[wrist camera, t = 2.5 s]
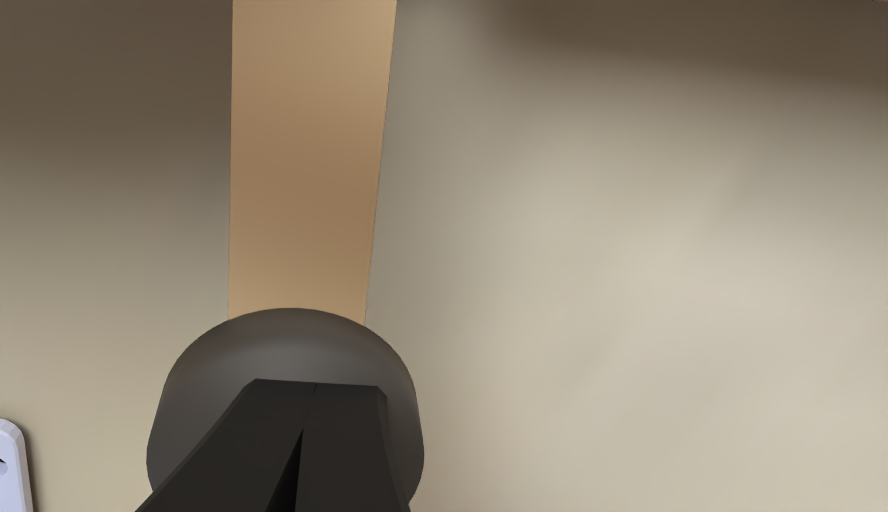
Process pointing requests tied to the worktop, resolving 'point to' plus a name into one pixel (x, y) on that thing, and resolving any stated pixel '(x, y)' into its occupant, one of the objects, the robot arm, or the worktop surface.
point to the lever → (298, 224)
